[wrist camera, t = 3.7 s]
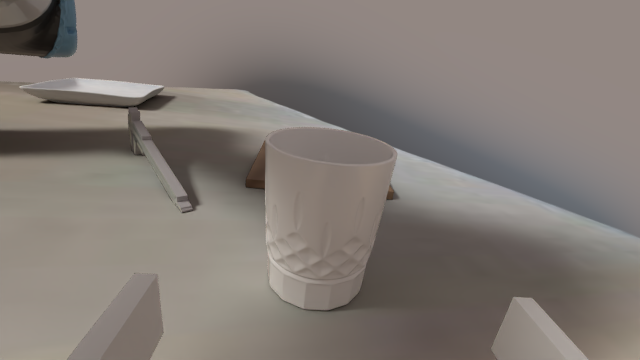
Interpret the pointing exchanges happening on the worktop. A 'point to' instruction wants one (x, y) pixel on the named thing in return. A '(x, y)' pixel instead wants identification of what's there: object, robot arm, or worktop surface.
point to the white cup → (322, 212)
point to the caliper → (156, 160)
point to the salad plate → (93, 92)
